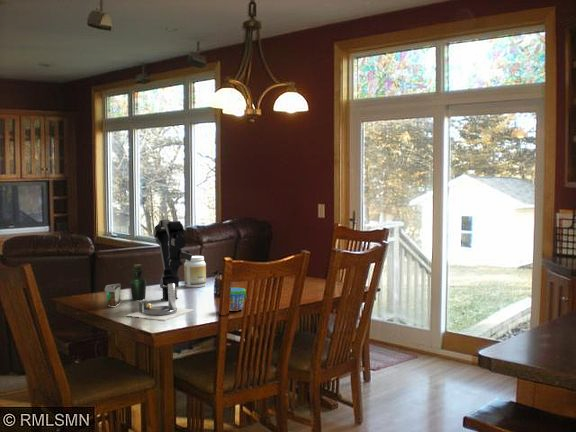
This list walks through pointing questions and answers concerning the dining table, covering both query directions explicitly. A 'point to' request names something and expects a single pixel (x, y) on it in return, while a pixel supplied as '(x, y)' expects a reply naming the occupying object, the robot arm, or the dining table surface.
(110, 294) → the food container
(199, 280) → the supplement tub
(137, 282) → the potion bottle
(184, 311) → the level stand
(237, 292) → the snack cup
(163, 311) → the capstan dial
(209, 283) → the dining table surface
